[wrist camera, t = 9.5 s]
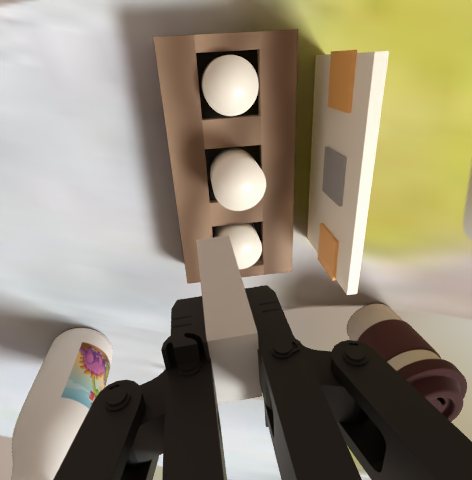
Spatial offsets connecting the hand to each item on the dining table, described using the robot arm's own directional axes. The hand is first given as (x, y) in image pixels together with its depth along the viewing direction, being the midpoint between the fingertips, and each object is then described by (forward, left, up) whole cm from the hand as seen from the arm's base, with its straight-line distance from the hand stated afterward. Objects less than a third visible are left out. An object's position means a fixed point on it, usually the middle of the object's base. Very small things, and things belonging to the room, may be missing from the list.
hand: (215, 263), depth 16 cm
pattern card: (+13, -2, -23) cm, 26 cm away
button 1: (+3, -10, -23) cm, 25 cm away
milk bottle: (-18, -25, -23) cm, 38 cm away
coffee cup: (+22, -27, -23) cm, 42 cm away
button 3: (+3, +6, -23) cm, 24 cm away
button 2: (+3, -2, -20) cm, 20 cm away
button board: (+3, -2, -23) cm, 23 cm away
